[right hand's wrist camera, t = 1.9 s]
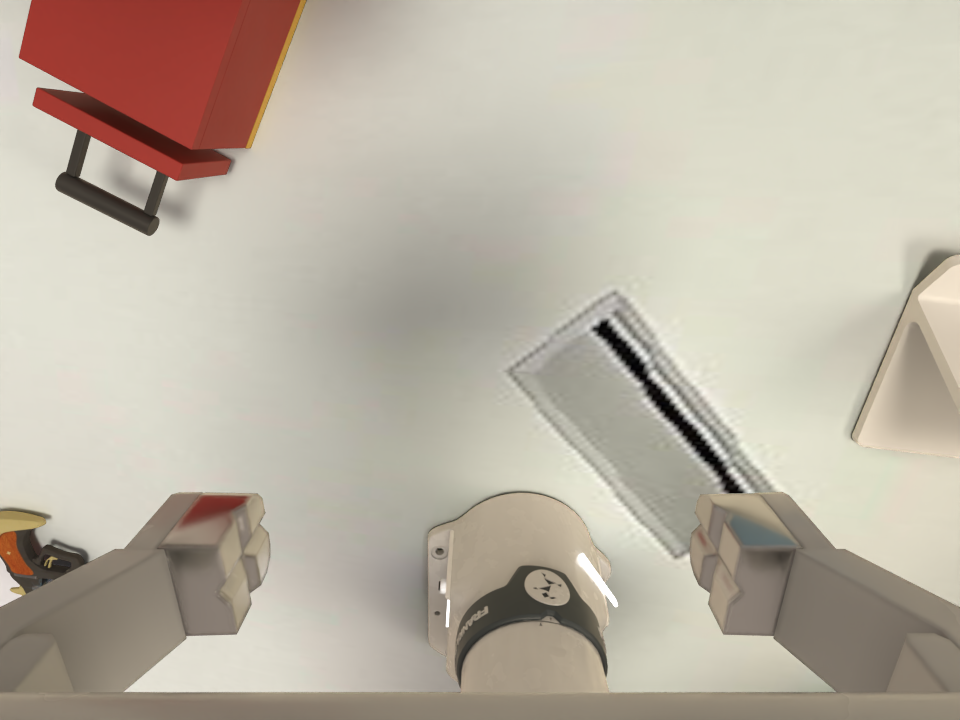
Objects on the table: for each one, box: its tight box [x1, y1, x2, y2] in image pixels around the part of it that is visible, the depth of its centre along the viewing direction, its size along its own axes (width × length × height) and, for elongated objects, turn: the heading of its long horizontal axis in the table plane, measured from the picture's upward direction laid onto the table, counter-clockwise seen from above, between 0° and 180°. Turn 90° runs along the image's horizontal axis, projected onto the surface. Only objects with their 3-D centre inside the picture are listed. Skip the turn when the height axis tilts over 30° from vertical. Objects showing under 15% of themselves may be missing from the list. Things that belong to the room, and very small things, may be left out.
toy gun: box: [0, 511, 84, 596], centre depth 57 cm, size 3×19×10 cm
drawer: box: [33, 87, 231, 236], centre depth 37 cm, size 21×9×8 cm, turn 151°
